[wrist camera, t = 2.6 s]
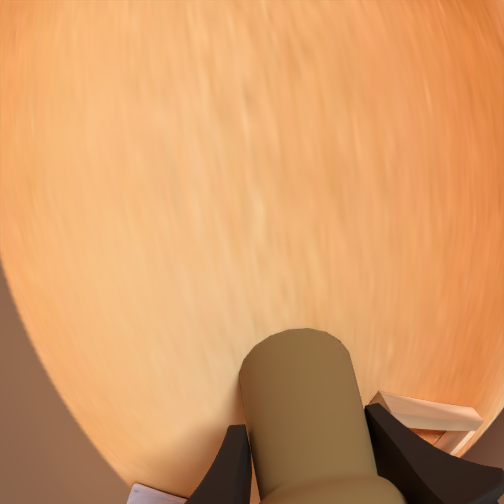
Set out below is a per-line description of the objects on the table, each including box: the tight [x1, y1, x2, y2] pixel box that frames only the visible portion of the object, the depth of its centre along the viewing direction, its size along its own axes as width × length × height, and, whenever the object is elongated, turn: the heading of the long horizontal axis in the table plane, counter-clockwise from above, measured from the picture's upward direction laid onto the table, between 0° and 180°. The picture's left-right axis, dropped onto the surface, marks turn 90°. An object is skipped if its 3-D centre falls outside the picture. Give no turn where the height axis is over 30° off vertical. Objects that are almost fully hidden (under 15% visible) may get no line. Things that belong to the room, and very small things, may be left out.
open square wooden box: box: [369, 391, 484, 456], centre depth 16 cm, size 11×11×2 cm
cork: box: [239, 328, 408, 504], centre depth 9 cm, size 6×6×11 cm
